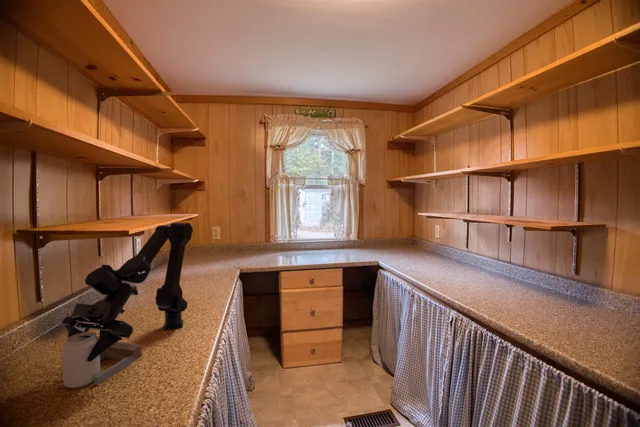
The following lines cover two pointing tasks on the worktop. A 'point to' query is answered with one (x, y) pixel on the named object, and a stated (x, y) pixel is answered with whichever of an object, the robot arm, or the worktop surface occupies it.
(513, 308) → the worktop surface
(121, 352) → the stop block
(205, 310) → the worktop surface
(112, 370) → the guide rails
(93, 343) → the can
